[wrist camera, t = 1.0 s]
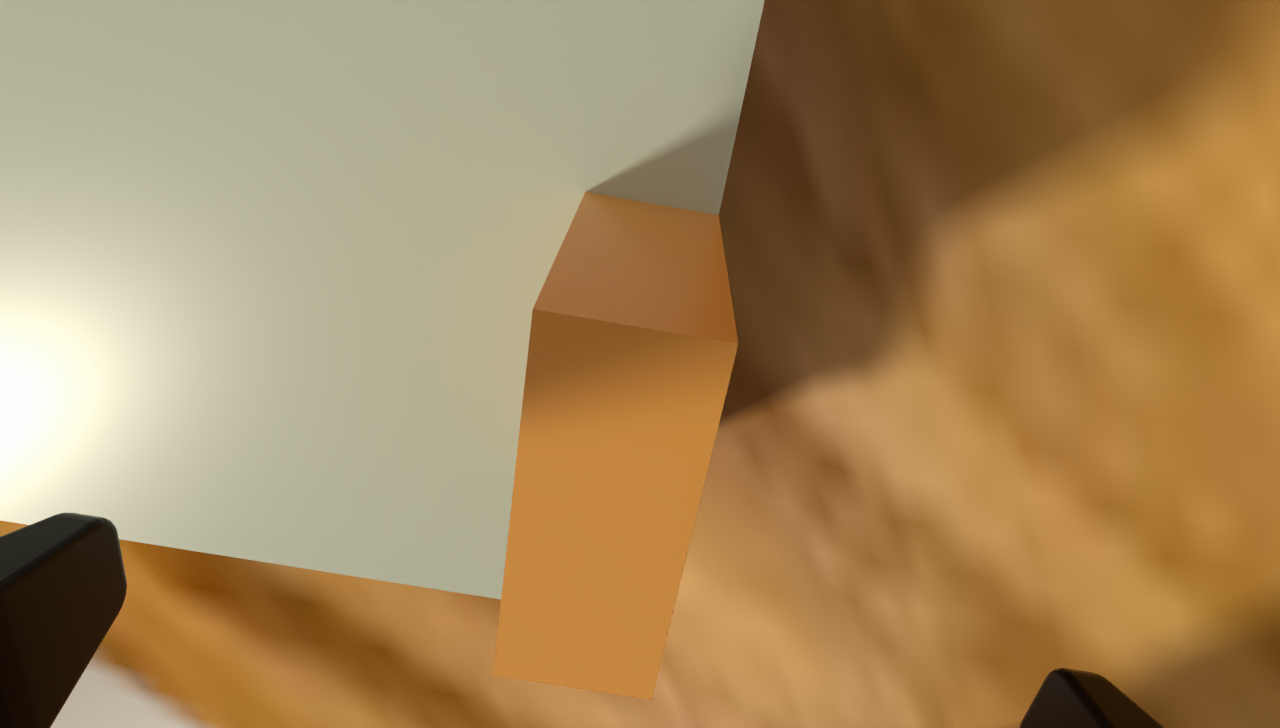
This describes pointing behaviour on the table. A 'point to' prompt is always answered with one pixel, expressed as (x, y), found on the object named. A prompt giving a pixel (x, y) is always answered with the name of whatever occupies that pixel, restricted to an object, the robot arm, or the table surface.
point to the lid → (380, 293)
